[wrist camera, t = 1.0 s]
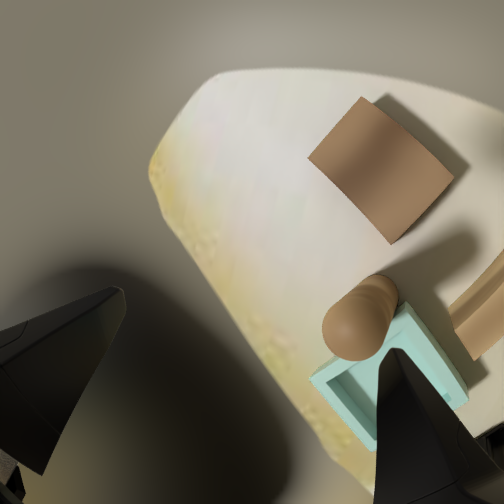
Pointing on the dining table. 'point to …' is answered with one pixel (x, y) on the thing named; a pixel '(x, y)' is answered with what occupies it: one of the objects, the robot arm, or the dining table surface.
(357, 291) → the oak dowel
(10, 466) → the robot arm
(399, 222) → the walnut board
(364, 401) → the tray
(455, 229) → the dining table surface
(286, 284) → the dining table surface
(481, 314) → the block
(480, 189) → the dining table surface
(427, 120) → the dining table surface
